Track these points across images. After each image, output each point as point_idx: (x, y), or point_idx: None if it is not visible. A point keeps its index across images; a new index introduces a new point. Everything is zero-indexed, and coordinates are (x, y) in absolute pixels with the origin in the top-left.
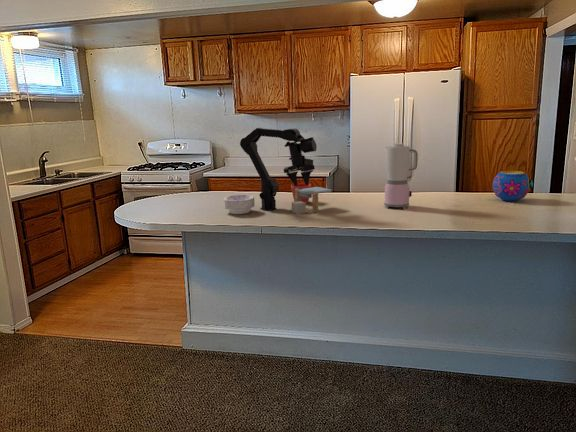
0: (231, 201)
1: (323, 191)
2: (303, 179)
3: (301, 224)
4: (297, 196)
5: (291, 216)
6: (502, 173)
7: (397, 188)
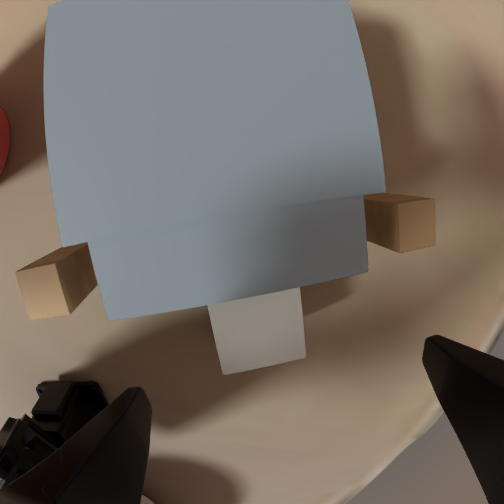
0: None
1: (363, 73)
2: (469, 450)
3: None
4: (97, 283)
5: (325, 373)
6: None
7: None
